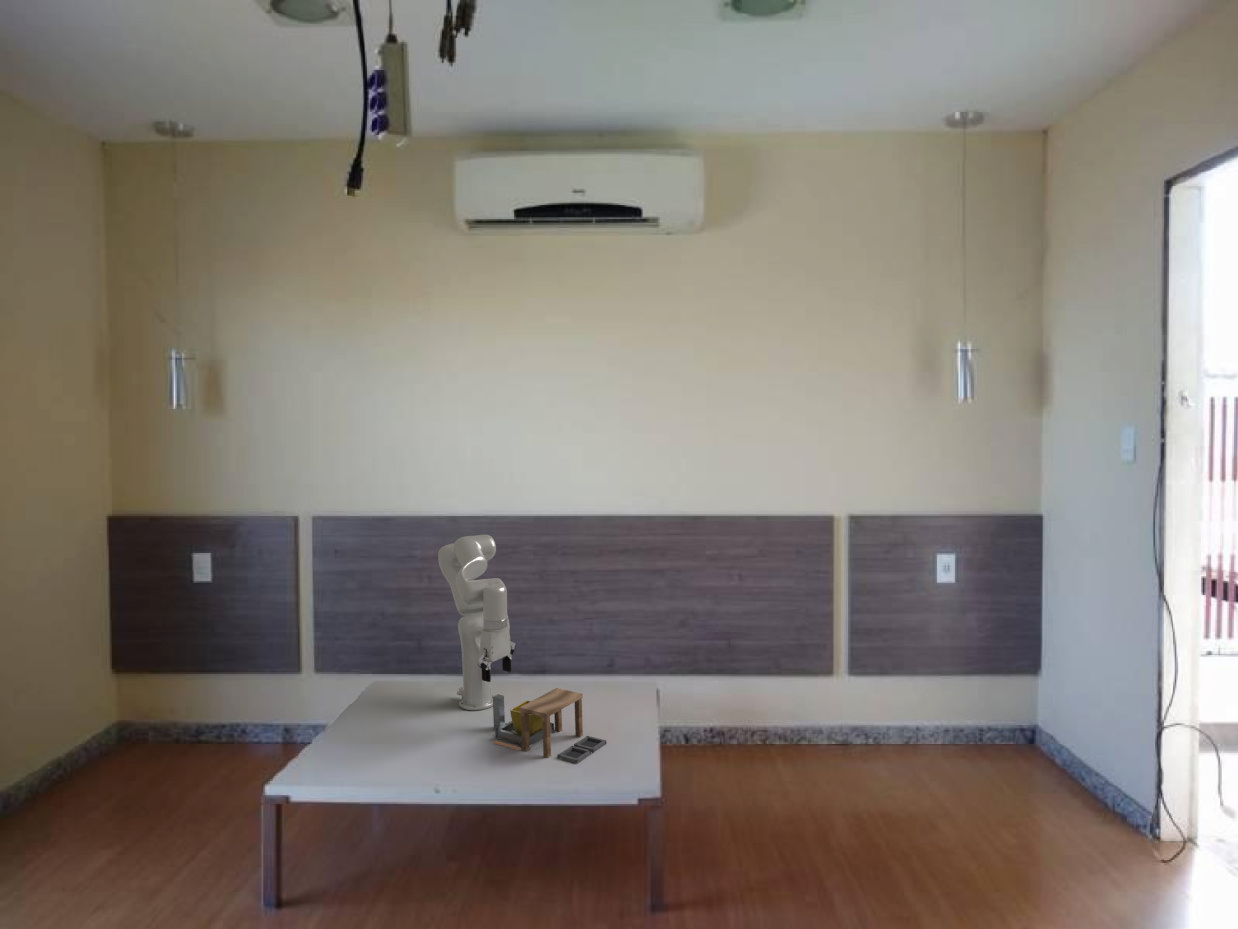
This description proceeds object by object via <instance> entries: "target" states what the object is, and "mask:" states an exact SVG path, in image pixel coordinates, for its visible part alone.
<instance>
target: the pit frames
mask: <svg viewBox="0 0 1238 929" xmlns="http://www.w3.org/2000/svg"><path fill="white" fill-rule="evenodd" d="M605 745H607V740H606V739H602V738H599V737H594V736H590V735H586V736H585V737H583V738H581V739H580V740H578V741H577V742H576V743H574V744H573V745H571V746H569V747H567V748H566V749H565V750H563V751H562V752H560V753H559V754H557V759H560V760H563V761H567V762H570V763H573V764H577V765H578V764H579V763H581V762H582V761H583V760H586V758H588V757H590V756H591V755H592V753H595V752H597V751H598V750H600V749H601V748H603V747H604V746H605Z"/></svg>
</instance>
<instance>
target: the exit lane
mask: <svg viewBox="0 0 1238 929" xmlns="http://www.w3.org/2000/svg"><path fill="white" fill-rule="evenodd" d="M554 730H555V726H554ZM492 743H493V744H495V745H499V746H503V747H506V748H510V749H514V750H517V751H519V750H522V746H521V747H520V746H516V745H512V744H509V743H506V742H502V741H500V740H493V741H492Z"/></svg>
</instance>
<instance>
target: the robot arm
mask: <svg viewBox="0 0 1238 929" xmlns="http://www.w3.org/2000/svg"><path fill="white" fill-rule="evenodd" d="M496 553H497V545H496V542H495V540H494V538H493V536H491V535H489V534H478V535H468V536H466V535H465V536H462V537H460V538H458V539H456V540H455V542H454V543H449V544H446V545H443V546H441V548H440V549H439V550H438V554H437V560H438V565H439V569H440V571H441V573H442V575H443V577H444V578H445V580H446V581H447V583H448V584H449V587H450V590H451V594H452V597H453V601H454V605H455V608H456V610H457V612H458V614H459V615H460V616H461V618H460V619H459V620H458V623H457V630H458V634H459V640H460V647H461V661H462V662H461V665H462V686H461V687H459V688H458V690H457V691H456V695H458V696H461V699H460V700H459V707H460V708H461V709H462V710H463V709H464V710H466V711H480V710H481V711H482V710H486V709H489V708H491V707H492V708H493V696H494V695H492V677H491V676H492V674H491V673H492V672H491V671H492V670H491V665H492V663H494V662H496V661H499V660H500V659H502V662H501V664H502V671H504V672H509V673H511V672H512V659H513V654H514V653H515V648H516V647H515V646H516V642H513V641H511V634H510V629H511V628H510V626H511V625H510V620H509V616H508V590H507V587H506V585H505V583H504V582H503V581H502V579H501V578H498V577H493V578H483V579H477V578H479V577H480V576H482V575H483V574H484V573H485V572H486V571H487V569H488V561H490V560H492V559H493V558H494V556H495V555H496Z"/></svg>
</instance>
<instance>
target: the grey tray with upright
mask: <svg viewBox="0 0 1238 929" xmlns="http://www.w3.org/2000/svg"><path fill="white" fill-rule="evenodd" d="M505 714H506V713H505V696H504V694H496V695H493V706H492V716H493V717H492V719H493V728H494V733H495V734H494V736H495V739H499V740H501V741H506V742H510V743H513V744H516V745H520V746H522V735H520V734H517V732H516V733H515V732H513V731H514V730H515V729H514V726H513V723H512V720H511V721H509V722H506V720H505V718H506V716H505ZM554 727H555V722H551V721H550V734H551V733H554V732H555V729H554ZM540 740H543V730H542V728H540V729H539V730H537V731H535V732H534V733H532V734H530V735H529V742H530V746H531V745H533V744H534V743H536V742H538V741H540Z"/></svg>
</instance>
